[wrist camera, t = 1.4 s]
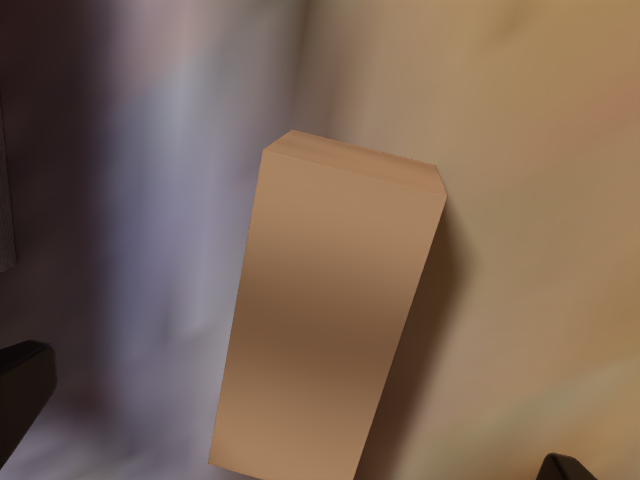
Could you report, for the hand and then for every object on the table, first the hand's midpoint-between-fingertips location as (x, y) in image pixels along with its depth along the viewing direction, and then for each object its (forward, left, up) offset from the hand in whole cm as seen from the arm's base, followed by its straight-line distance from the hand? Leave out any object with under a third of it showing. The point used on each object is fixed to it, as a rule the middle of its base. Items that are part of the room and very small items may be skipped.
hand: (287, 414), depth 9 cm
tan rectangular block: (0, 0, -5) cm, 5 cm away
